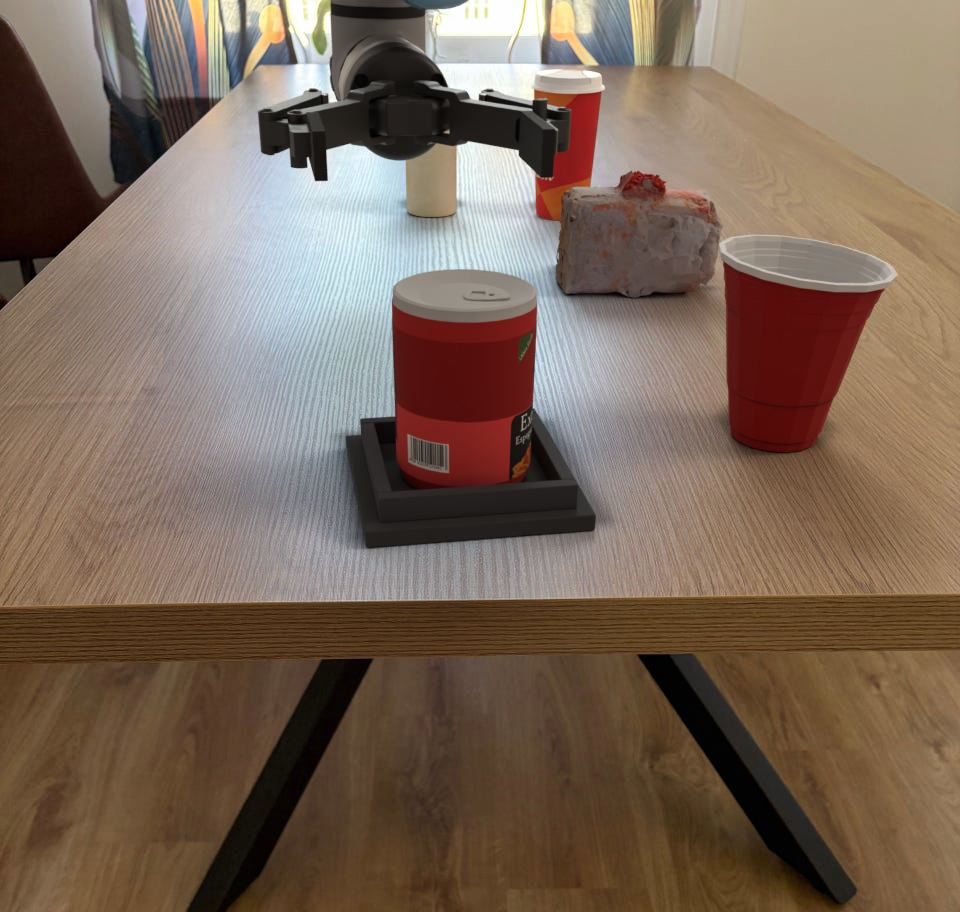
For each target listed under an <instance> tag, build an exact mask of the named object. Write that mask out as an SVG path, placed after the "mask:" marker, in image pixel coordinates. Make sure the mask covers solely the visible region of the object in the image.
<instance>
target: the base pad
mask: <svg viewBox="0 0 960 912" xmlns="http://www.w3.org/2000/svg"><path fill="white" fill-rule="evenodd" d="M359 426H360V434H352V435H346V436H345V445H346V446H345V447H346V448H345V449H346V454H347V459H348V465H349V469H350V474H351V478H352V484H353V488H354V489H353V490H354V494H355V498H356V504H357V509H358V514H359V518H360V523H361V528H362V534H363V538H364V539H363V540H364V544H365V547H366V548H380V547H392V546H393V547H394V546H405V545H406V546H407V545H418V544H419V545H420V544H431V543H432V544H433V543H442V542H443V543H444V542H457V541H458V542H459V541H470V540H471V541H472V540H484V539H496V538H497V539H498V538H509V537H510V538H511V537H523V536H535V535H536V536H537V535H547V534H548V535H549V534H560V533H572V532H573V533H574V532H575V533H576V532H588V531H595V530H596V523H597V522H596V521H597V515H596V512H595V510H594V509H593V508H592V505H591V504H590V502H589V501H588V498H587V497H586V495H585V493H584V492H583V490H582V488H581V486H580V484H579V483H578V481H577V480H576V478H575V476H574V473H573V472H572V471H571V469H570V466H568V464H567V462H566V460H565V458H564V457H563V455H562V453H561V452H560V450H559V448H558V446H557V445H556V443H555V441H554V439H553V437H552V435H551V434H550V432H549V430H548V429H547V426H546V425H545V423H544V422H543V421H542V419H541V417H540V415H539V413H538V412H537V410H536V408H534V407H533V414H532V434H531V455H530V464H529V467H528V469H527V472H526V475H525V477H524V479H523V480H522V481H521V483H510V484H496V485H482V486H467V487H453V488H438V489H424V490H419V489H417V488H415V487H413V486H412V485H411V484H409V483H408V482H406V480H405V479H404V478H403V476H402V474H401V471H400V468H399V465H398V462H397V456H396V427H395V415H394V416H382V417H381V416H379V417H362V418H360V419H359Z"/></svg>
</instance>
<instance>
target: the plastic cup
mask: <svg viewBox="0 0 960 912" xmlns="http://www.w3.org/2000/svg"><path fill="white" fill-rule="evenodd" d="M718 253H719V256H720V260H721V261H722V266H723V280H724V296H723V297H724V300H725V363H726V364H725V365H726V366H725V367H726V369H725V370H726V371H725V372H726V373H725V374H726V376H725V377H726V385H727V410H728V411H727V413H728V415H727V416H728V418H727V419H728V423H729V429H730V435H731V437H733V438H734V439H735V440H736V441H737V442H738V443H741V444H743V445H746V446H747V447H750V448H752V449H758V450H762V451H767V452H777V453H778V452H779V453H790V452H798V451H804V450H806V449H808V448H811V447H812V446H813V445H814V444H815V443H816V441H817V439H818V437H819V435H820V434H821V432H822V431H823V428H824V426H825V423H826V420H827V418H828V415H829V412H830V409H831V406H832V404H833V401H834V399H835V397H836V396H837V395H838V392H839V390H840V388H841V385H842V383H843V380H844V378H845V375H846V373H847V371H848V368H849V365H850V362H851V360H852V358H853V355H854V353H855V350H856V347H857V345H858V343H859V340H860V338H861V335H862V333H863V330H864V327H865V325H866V323H867V320H869V318H870V317H871V315H872V312H873V310H874V308H875V306H876V304H877V303H878V302H879V301H880V299H881V296H882V294H883V293H884V292H885V290H886V289H888V288H889V287H890V286H891V285H892V284H893V283H894V282H895V280H896V279H897V278H898V276H899V273H898V272H897V271H896V270H895V268H894V267H893V265H892V264H890V263H888V262H886V261H884V260H883V259H880V258H878V257H877V256H875V255H872V254H870V253H867V252H864V251H861V250H857V249H854V248H852V247H848V246H846V245H840V244H836V243H831V242H827V241H821V240H817V239H812V238H805V237H796V236H788V235H780V234H778V235H777V234H745V235H738V236H729V237H728V238H726V239H724V240H722V241H721V242H720V241H719V247H718Z"/></svg>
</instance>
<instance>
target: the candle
mask: <svg viewBox="0 0 960 912" xmlns="http://www.w3.org/2000/svg"><path fill="white" fill-rule="evenodd" d="M444 133H448V134H449V131H446V132H444ZM457 147H458V145H457V146H448V145H443V144H437V143H436V144H435V146H434V147H432V148H431V149H430V150H429V151H428V152H426V153H425V154H423V155H421V156H419V157H417V158H414V159H410V160H405V193H406V197H405V199H406V201H405V202H406V211H407V213H408V214H410V215H412V216H417V217H421V218H422V217H423V218H440V217H448V216H451V215H454V214H456V212H457V201H458V200H457V191H458V187H457V185H458V184H457V173H458V171H457V170H458V169H457V167H458V166H457V163H458V161H457V159H458V158H457V156H458V155H457V154H458V152H457V151H458V149H457Z"/></svg>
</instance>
